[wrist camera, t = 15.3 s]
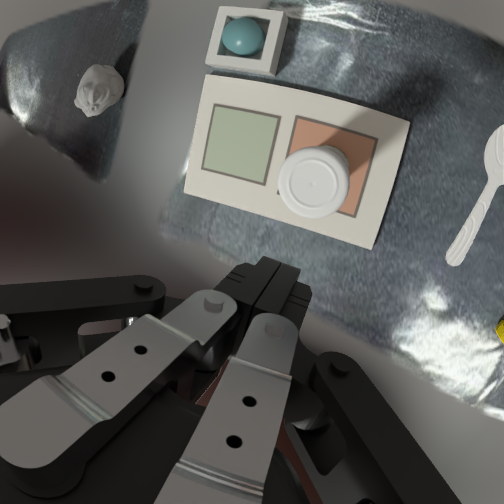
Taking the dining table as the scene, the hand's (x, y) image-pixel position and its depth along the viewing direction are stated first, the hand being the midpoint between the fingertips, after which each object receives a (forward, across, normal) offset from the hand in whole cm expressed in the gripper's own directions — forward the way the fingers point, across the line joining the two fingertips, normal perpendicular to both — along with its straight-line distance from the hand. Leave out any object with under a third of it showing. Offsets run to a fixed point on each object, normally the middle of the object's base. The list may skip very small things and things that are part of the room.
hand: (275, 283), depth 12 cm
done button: (+22, +12, -14) cm, 28 cm away
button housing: (+23, +12, -14) cm, 29 cm away
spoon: (+24, -17, -6) cm, 30 cm away
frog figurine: (+23, +29, -6) cm, 37 cm away
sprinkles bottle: (+22, +1, -2) cm, 22 cm away
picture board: (+23, +5, -2) cm, 24 cm away
